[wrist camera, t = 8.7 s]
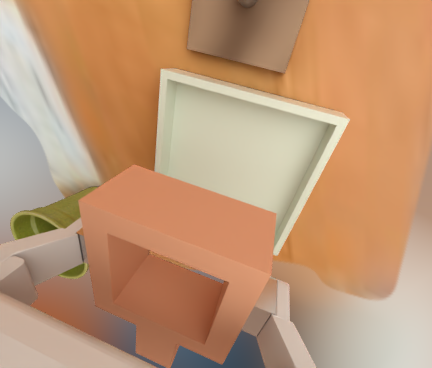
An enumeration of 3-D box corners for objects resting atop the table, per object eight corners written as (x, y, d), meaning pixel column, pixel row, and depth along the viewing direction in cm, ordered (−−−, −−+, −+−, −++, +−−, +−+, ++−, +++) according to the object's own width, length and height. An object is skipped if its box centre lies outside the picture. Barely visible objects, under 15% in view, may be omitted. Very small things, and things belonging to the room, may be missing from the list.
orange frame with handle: (133, 164, 10) (78, 200, 7) (276, 213, 9) (271, 275, 6) (133, 288, 14) (100, 335, 12) (224, 327, 14) (209, 387, 11)
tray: (162, 198, 27) (152, 210, 25) (175, 68, 19) (160, 68, 17) (278, 239, 25) (277, 255, 23) (342, 112, 18) (349, 119, 15)
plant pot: (97, 162, 27) (28, 198, 20) (146, 217, 30) (101, 268, 22) (65, 192, 32) (-1, 230, 25) (110, 238, 34) (62, 286, 27)
